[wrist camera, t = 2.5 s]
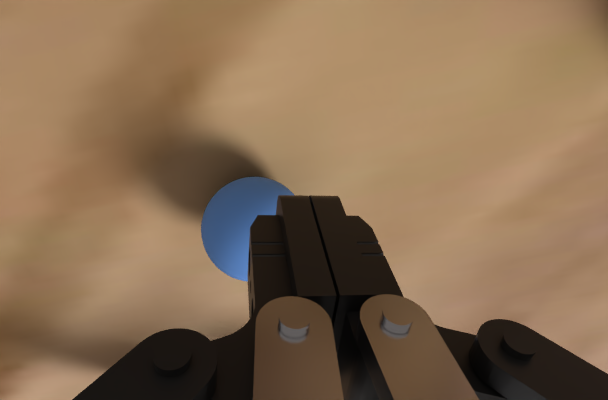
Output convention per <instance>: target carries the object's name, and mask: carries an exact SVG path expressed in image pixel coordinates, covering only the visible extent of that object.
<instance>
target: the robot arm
mask: <svg viewBox="0 0 608 400" xmlns="http://www.w3.org/2000/svg"><path fill="white" fill-rule="evenodd" d="M248 295H249V315H250V320H249V321H248V323H247V324H246V325H245V326H244V327H242V328H241V329H240V330H238V331H236V332H235V333H233V334H231V335H228V336H225V337H222V338H219V339H216V340H213V341H210V340H209V339H208V338H207V337H205V336H204V335H202V334H200V333H198V332H196V331H193V330H189V329H168V330H164V331H160V332H158V333H155V334H153V335H151V336H149V337H148V338H146V339H145V340H143V341H142V342H141V343H139V344H138V345H137V346H136V347H135V348H133V349H132V350H131V351H130V352H129V353H127V354H126V355H125V356H124V357H123V358H122V359H120V360H119V361H118V362H117V363H116V364H114V365H113V366H112V367H111V368H110V369H108V370H107V371H106V372H105V373H104V374H102V375H101V376H100V377H99V378H98V379H96V380H95V381H94V382H93V383H92V384H90V385H89V386H88V387H87V388H86V389H84V390H83V391H82V392H81V393H80V394H78V395H77V396H76V397H75V398H74V399H73V400H608V374H607V373H605V372H603V371H602V370H600V369H598V368H596V367H595V366H593V365H591V364H590V363H588V362H586V361H585V360H583V359H581V358H579V357H578V356H576V355H574V354H573V353H571V352H569V351H568V350H566V349H564V348H562V347H561V346H559V345H557V344H556V343H554V342H552V341H550V340H549V339H547V338H545V337H544V336H542V335H540V334H539V333H537V332H535V331H533V330H532V329H530V328H528V327H526V326H524V325H522V324H519V323H517V322H514V321H510V320H504V319H495V320H490V321H487V322H485V323H484V324H483V325H482V326H481V327H480V329H479V331H478V333H477V335H473V334H468V333H464V332H460V331H455V330H451V329H446V328H443V327H439V326H437V325H434V323H433V322H432V320H431V318H430V317H429V315H428V314H427V313H426V312H425V310H424V309H423V308H421V307H420V306H419V305H418V304H416V303H415V302H413V301H411V300H409V299H407V298H404V297H403V295H402V292H401V290H400V288H399V286H398V284H397V281H396V279H395V277H394V275H393V273H392V271H391V268H390V266H389V264H388V262H387V260H386V258H385V256H383V251H382V249H381V247H380V245H379V244H378V240H377V238H376V236H375V234H374V232H373V229H372V228H371V227H370V226H369V225H368V224H367V223H366V222H365V221H364V220H362V219H361V218H360V217H359V216H346V214H345V211H344V208H343V206H342V203H341V201H340V198H339V197H338V196H309V197H308V196H295V195H279V196H278V199H277V207H276V215H257V217H256V219H255V220H254V222H253V223H252V225H251V227H250V238H249V256H248Z"/></svg>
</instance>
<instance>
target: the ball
mask: <svg viewBox="0 0 608 400" xmlns="http://www.w3.org/2000/svg"><path fill="white" fill-rule="evenodd" d="M279 195H294V194H293V193H292V192H291V191H290V190H289V189H288V188H286V187H285V186H284V185H282V184H280V183H278V182H276V181H274V180H271V179H268V178H264V177H245V178H241V179H237V180H235V181H232V182H230V183H229V184H227V185H225V186H224V187H222V188H221V189H220V190H219V191H218V192H217V193H216V194H215V195H214V196H213V197H212V198H211V200H210V201H209V203H208V205H207V207H206V209H205V212H204V215H203V219H202V225H201V233H202V240H203V244H204V248H205V250H206V252H207V254H208V256H209V258H210V259H211V261H212V262H213V263H214V264H215V265H216V266H217V267H218V268H219V269H220V270H221V271H223V272H224V273H225V274H227V275H229V276H231V277H233V278H235V279H238V280H242V281H248V256H249V238H250V227H251V225H252V223H253V222H254V220H255V219H256V217H257V215H276V207H277V199H278V196H279Z"/></svg>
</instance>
